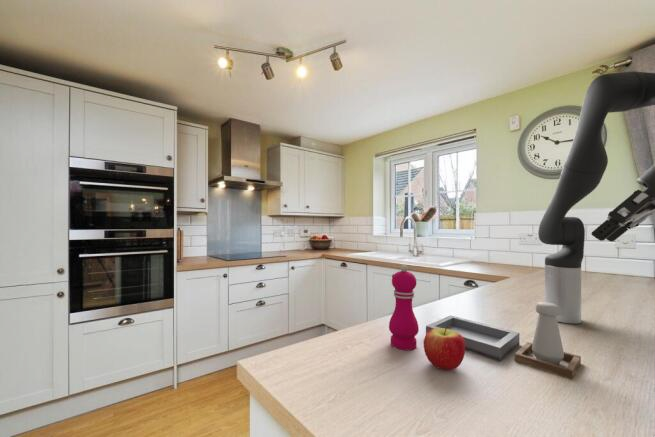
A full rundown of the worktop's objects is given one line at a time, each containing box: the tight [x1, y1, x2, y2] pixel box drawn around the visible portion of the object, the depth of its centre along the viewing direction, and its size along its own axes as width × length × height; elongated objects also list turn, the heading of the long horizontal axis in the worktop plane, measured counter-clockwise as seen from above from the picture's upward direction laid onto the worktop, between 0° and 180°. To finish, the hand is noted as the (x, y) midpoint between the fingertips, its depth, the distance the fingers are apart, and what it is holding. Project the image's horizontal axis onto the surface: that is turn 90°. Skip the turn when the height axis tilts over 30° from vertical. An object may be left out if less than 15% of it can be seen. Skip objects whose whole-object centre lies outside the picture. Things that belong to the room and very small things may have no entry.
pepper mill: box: [388, 264, 420, 351], centre depth 73 cm, size 7×7×20 cm
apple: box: [423, 322, 466, 371], centre depth 62 cm, size 8×8×10 cm
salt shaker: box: [531, 301, 565, 365], centre depth 65 cm, size 6×6×13 cm
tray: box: [425, 315, 520, 362], centre depth 76 cm, size 14×18×3 cm
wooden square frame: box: [514, 341, 582, 379], centre depth 65 cm, size 10×10×2 cm
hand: (601, 238), depth 59 cm, fingers open, 8 cm apart
